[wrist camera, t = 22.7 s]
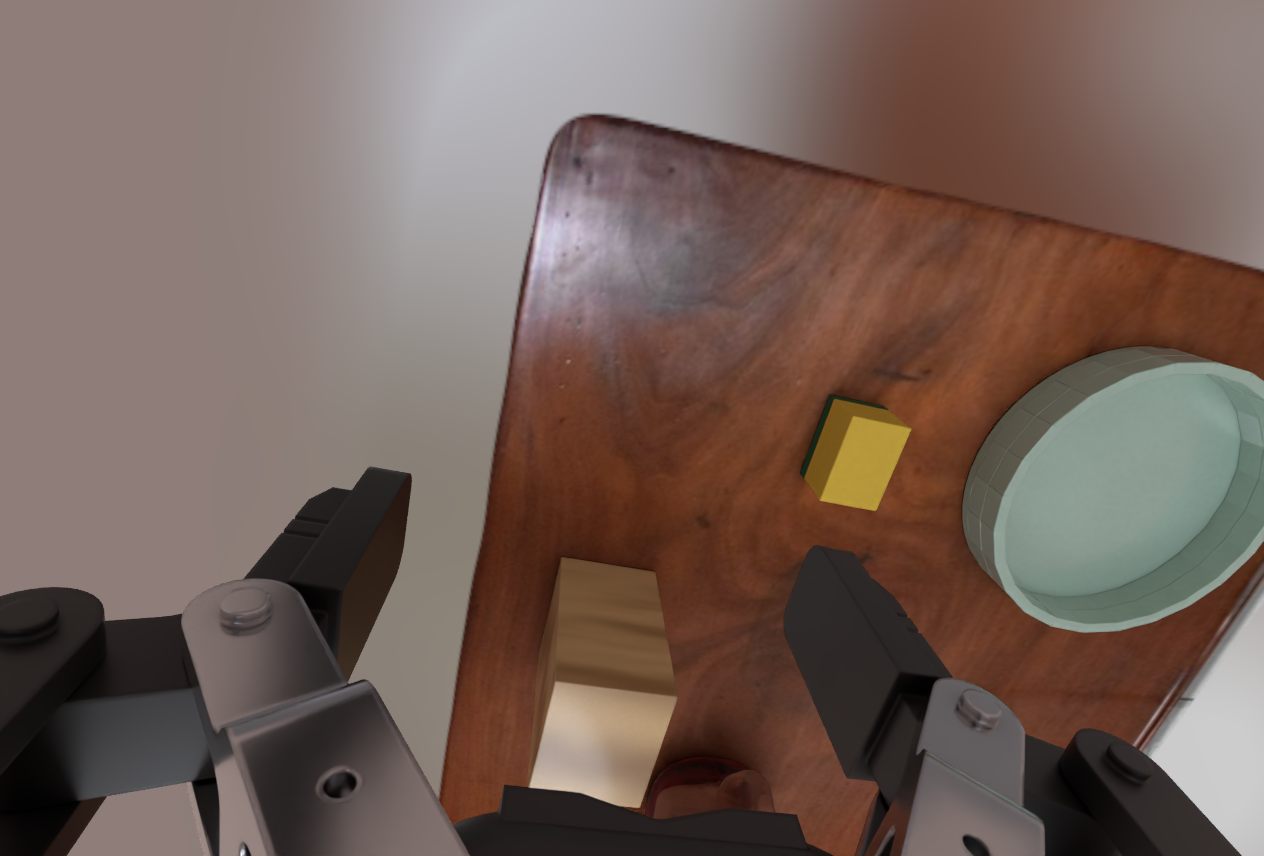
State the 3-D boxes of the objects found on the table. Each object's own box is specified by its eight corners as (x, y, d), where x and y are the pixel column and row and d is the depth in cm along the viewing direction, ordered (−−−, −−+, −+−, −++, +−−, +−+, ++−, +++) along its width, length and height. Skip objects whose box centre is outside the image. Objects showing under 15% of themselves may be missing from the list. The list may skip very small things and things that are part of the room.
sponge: (829, 394, 42) (853, 415, 38) (884, 405, 43) (912, 428, 39) (799, 473, 44) (819, 501, 40) (852, 483, 45) (876, 511, 41)
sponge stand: (561, 556, 45) (554, 681, 34) (655, 571, 46) (678, 697, 35) (538, 653, 49) (525, 797, 37) (627, 665, 50) (640, 808, 39)
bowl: (997, 347, 42) (1037, 364, 38) (1285, 344, 43) (1351, 360, 39) (937, 603, 49) (965, 638, 46) (1182, 593, 51) (1229, 626, 47)
